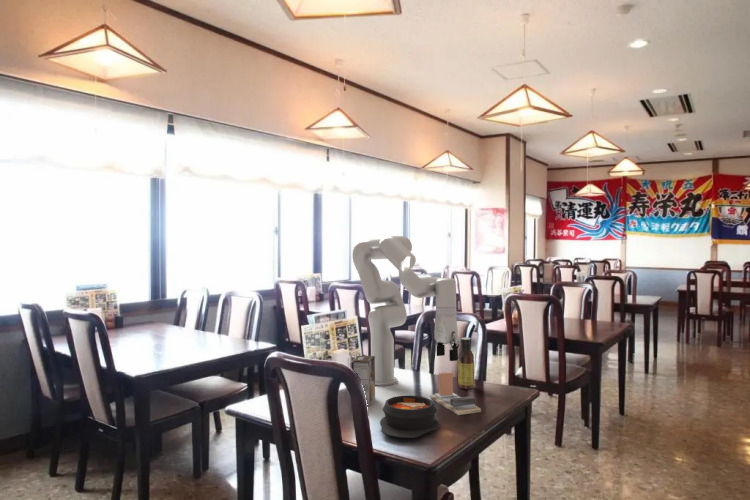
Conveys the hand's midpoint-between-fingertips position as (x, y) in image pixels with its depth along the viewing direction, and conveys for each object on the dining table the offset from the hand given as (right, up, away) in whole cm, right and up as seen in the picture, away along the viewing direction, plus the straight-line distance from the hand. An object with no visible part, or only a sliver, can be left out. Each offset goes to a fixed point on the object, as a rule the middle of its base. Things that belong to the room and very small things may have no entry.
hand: (447, 358), depth 188 cm
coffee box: (-30, -16, -2) cm, 34 cm away
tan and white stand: (0, -14, +1) cm, 14 cm away
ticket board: (+2, -16, -5) cm, 17 cm away
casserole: (-16, -16, -28) cm, 36 cm away
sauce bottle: (+10, -15, +16) cm, 24 cm away
